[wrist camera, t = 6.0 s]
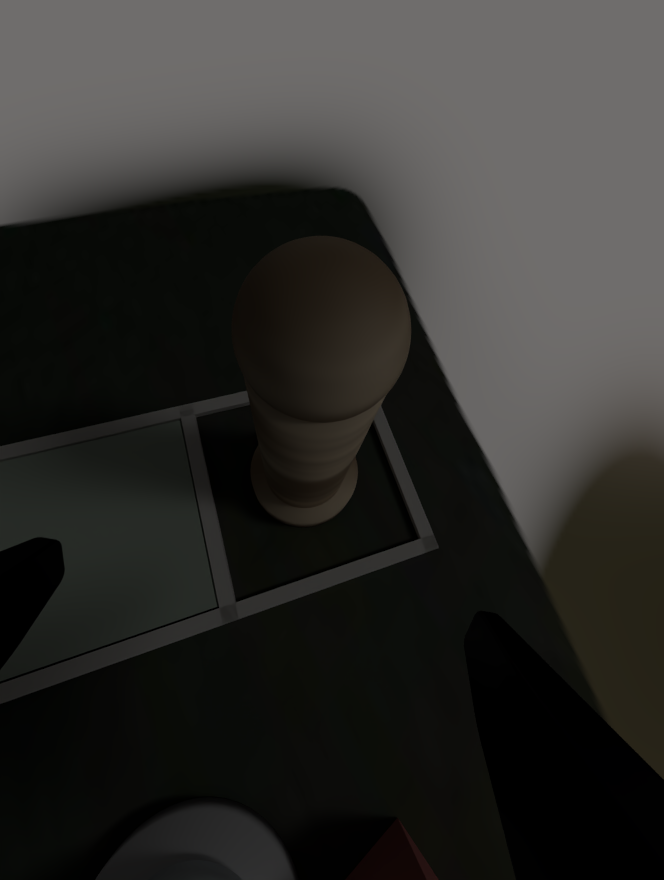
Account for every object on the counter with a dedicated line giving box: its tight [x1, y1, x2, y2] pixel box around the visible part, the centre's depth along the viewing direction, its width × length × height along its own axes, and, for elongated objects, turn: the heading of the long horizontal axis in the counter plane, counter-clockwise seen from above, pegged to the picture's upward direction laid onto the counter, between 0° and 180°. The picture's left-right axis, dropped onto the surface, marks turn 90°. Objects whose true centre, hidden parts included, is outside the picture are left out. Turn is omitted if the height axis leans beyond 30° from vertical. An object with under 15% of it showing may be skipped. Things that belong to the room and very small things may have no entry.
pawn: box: [232, 236, 411, 527], centre depth 15 cm, size 6×6×16 cm
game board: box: [0, 391, 439, 704], centre depth 20 cm, size 13×24×1 cm, turn 108°
